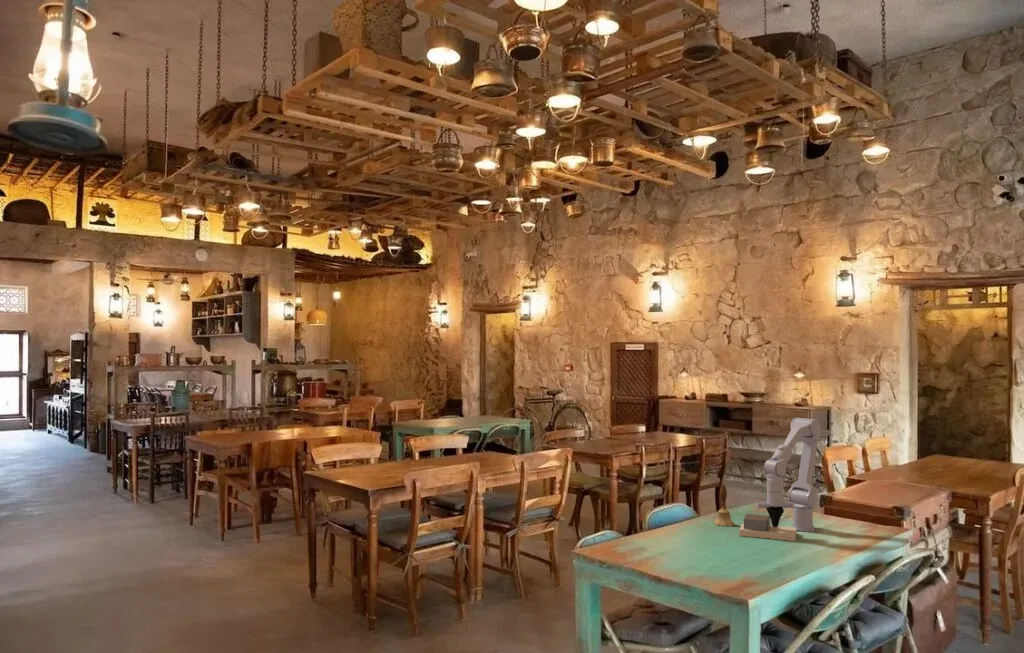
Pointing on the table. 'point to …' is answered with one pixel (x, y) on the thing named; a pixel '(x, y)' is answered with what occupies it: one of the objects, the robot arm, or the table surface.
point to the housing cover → (757, 522)
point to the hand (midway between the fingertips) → (775, 526)
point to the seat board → (771, 533)
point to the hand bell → (724, 511)
